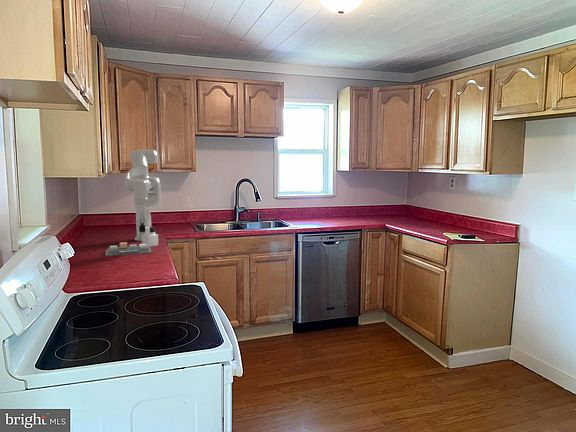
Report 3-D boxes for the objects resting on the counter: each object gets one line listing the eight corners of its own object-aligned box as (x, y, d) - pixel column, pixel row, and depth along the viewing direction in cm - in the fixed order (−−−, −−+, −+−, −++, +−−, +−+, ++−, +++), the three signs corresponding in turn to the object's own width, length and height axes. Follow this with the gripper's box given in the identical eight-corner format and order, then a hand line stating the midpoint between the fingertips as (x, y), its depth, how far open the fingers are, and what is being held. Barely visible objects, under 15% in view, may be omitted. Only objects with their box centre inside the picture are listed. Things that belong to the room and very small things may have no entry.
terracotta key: (119, 246, 246) (119, 242, 246) (127, 246, 248) (127, 242, 247) (119, 248, 242) (119, 243, 242) (127, 247, 244) (127, 243, 244)
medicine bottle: (152, 244, 270) (151, 225, 268) (158, 245, 266) (157, 226, 264) (142, 245, 265) (141, 227, 263) (148, 247, 260) (147, 228, 258)
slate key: (129, 248, 248) (129, 244, 248) (137, 248, 250) (136, 244, 249) (129, 250, 244) (129, 246, 244) (137, 249, 246) (136, 245, 246)
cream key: (139, 248, 250) (139, 244, 250) (146, 247, 252) (146, 243, 251) (139, 249, 246) (139, 245, 246) (146, 249, 248) (146, 244, 248)
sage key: (110, 250, 244) (109, 246, 244) (117, 249, 246) (117, 245, 246) (109, 251, 241) (109, 247, 240) (117, 251, 242) (117, 246, 242)
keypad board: (106, 251, 248) (106, 246, 248) (150, 248, 257) (150, 244, 257) (105, 256, 235) (104, 251, 235) (151, 252, 244) (151, 248, 244)
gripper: (134, 199, 251) (135, 229, 254) (134, 203, 237) (136, 234, 240) (147, 199, 254) (148, 229, 257) (148, 202, 240) (149, 234, 243)
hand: (142, 231), depth 248 cm, fingers closed
